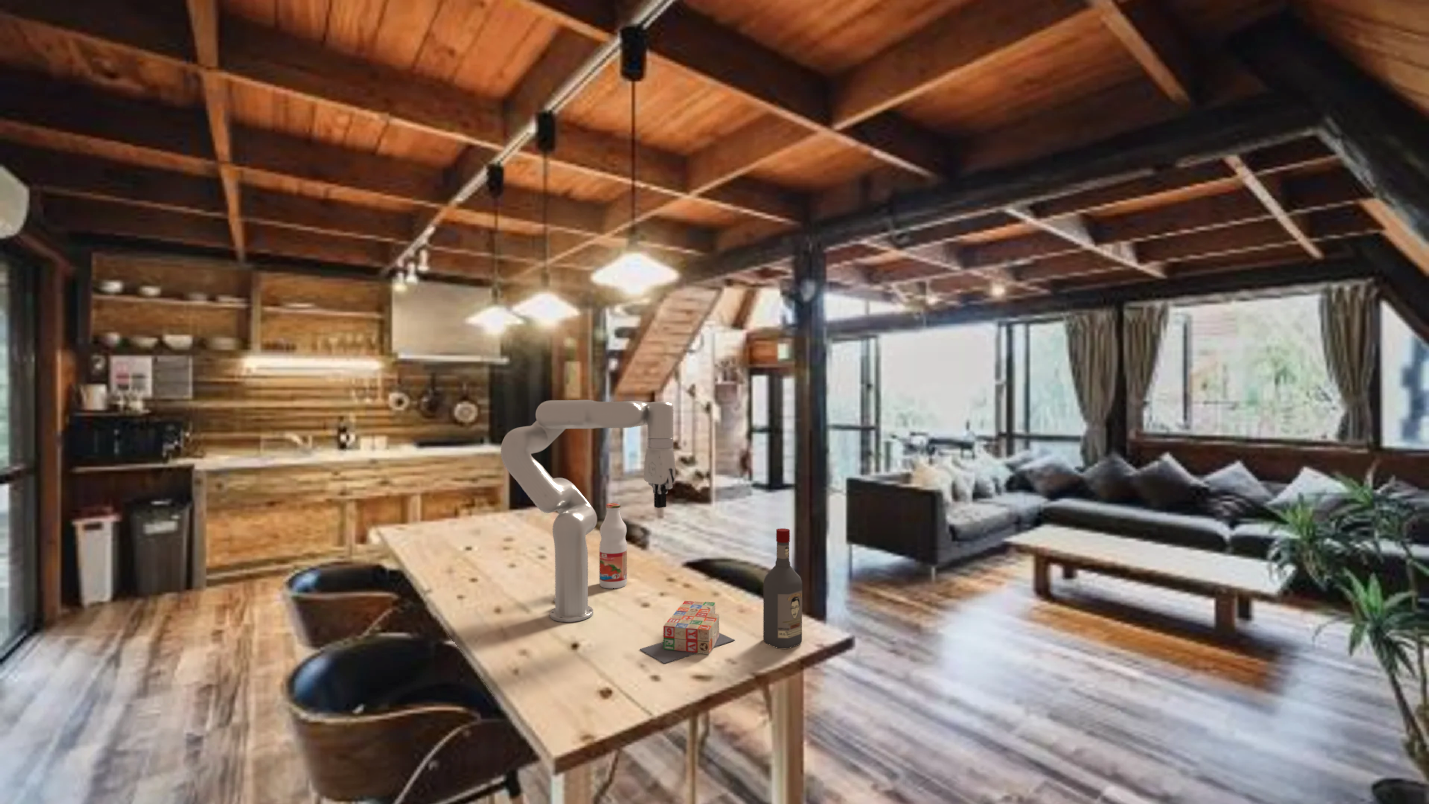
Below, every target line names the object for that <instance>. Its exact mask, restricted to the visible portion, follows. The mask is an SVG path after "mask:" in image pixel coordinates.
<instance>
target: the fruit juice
mask: <svg viewBox="0 0 1429 804" xmlns="http://www.w3.org/2000/svg"><path fill="white" fill-rule="evenodd" d="M605 508H606V513H605V517H604V520H603V522H602V523H601V525H600V527H599V534H600V537H601V539H600V541H599V549H598V550H599V551H598V552H599V561H598V563H599V564H598V565H599V574H598V575H599V586H600V587H601V588H602V589H603V588H604V589H613V588H614V589H620V588H624V587H625V586H626V585H627V582H628V543H627V540H626V535H627V525H626V523H625V522H624V521H623V519H622V516H621V511H620V509H621V503H618V502H610V503H606V504H605Z"/></svg>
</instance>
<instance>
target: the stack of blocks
mask: <svg viewBox="0 0 1429 804" xmlns="http://www.w3.org/2000/svg"><path fill="white" fill-rule="evenodd" d="M662 628H663V631H662V632H663V635H662V636H663V641H662V642H663V649H665V650H673V651H674V650H677V651H686V652H693V653H697V654H704V655H710V653H711V652H712V650H713V649H714V648H713V647H714V645H715V643H716V641H717V639H718V637H719V633H720V614H719V613H716V602H714V601H692V600H684V601H683V602H682V603H681V604H680V606H679V607H678V608H677V609H676V611H675V612H674V613H673V614H672V616H671V617H670V618H669V619H668V620H667V621H666V622H665V623H664V624H663V627H662Z"/></svg>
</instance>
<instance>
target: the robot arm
mask: <svg viewBox="0 0 1429 804" xmlns="http://www.w3.org/2000/svg"><path fill="white" fill-rule="evenodd" d="M535 419H536V420H535V422H533V423H532V425H526V426H520V427H516V428H512V429H511V430H510V431H508V432H507V433H506V434H505V436H504V438H503V440H502V442H501V446H500V457H501V461H502V464H503V465H504V467H505V468H506V470H507V472H508V473H509V474H510V475H511V476H512V478H513V479H514V480H516V482H517V483H518V485H519V486H520V487H521V489H522V490H523V491H524V493H525V494H526V495H527V496H528V498H529V499H530V500H531V501H532V502H533V504H534V505H535V506H536V508H538V510H539V511H541V512H543V513H545V514H549V513H550V514H552V513H554V512H557V513H558V515H557V516H556V518H555V520H554V521H553V525H552V536H553V537H552V538H553V543H554V545H553V546H554V569H555V570H554V577H555V578H554V582H555V583H554V588H555V589H554V591H555V593H554V598H553V601H554V605H555V606H554V608H553V609H552V610H550V612H549V617H550V619H551V620H553V621H556V622H562V623H572V622H575V623H576V622H579V621H580V622H581V621H584V620H587V619H589V618H591V617H592V616H593V615H594V608H593V607H592V606H590V605H589V559H588V558H589V556H588V554H589V552H588V545H587V544H588V543H587V540H586V539H587V538H586V537H587V536H586V535H588V534H590V533H591V532H592V531H593V530H594V529H595V527H596V526H597V523H598V516H597V513H596V510H595V509H594V508H593V506H592V505H591V504H590V503H589V500H587V498H585V496H584V495H583V494H582V492H581V491H580V490H579V489H578V488H577V487H576V485H575V484H574V483H572V481H570V480H568V479H567V478H563V477H552V476H551V475H550V473H549V472H548V471H547V470H546V469H545V468H544V466H543V465H542V464H541V463H539V461H537V460H536V459H535V458H534V457H533V456H532V454H536V453H540V452H542V451H544V450H545V449H547V448H548V447H549V446H550V445H551V444H552V443H553V442H554V441H555V440H556V439H557V438H558V437H559V436H560V435H561V434H562V433H563V432H564V431H565V430H566V429H568V430H569V429H573V430H574V429H577V430H579V429H581V430H582V429H584V430H585V429H586V430H587V429H591V430H593V429H631V428H635V427H636V428H637V427H642V426H647V438H646V439H647V441H646V443H647V448H646V451H645V455H644V464H643V467H644V468H643V479H644V481H645V482H646V483H648V485H649V486H650V487H651V488H652V493H653V494H654V495H653V500H654V502H653V506H654V508H657V509H661V508H666V507H667V494H668V491H669V490H671V489H673V486H674V485H673V484H674V483H675V481H676V461H675V460H676V459H675V453H674V405H673V403H672V402H669V401H651V402H648V401H641V400H630V401H629V400H628V401H627V400H625V401H624V400H623V401H596V400H592V399H570V400H568V399H567V400H566V399H565V400H564V399H563V400H561V399H560V400H557V399H556V400H555V399H554V400H546V401H545V400H544V401H543V402H541V403H540V404H539V405H538V406H537V408H536V410H535Z"/></svg>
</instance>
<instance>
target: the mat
mask: <svg viewBox="0 0 1429 804" xmlns="http://www.w3.org/2000/svg"><path fill="white" fill-rule="evenodd" d="M732 642H736V641H735V639H734V638H731V637H729V636H727V635H726V634H723V633H721V632H719V637H718V639H717V641H716V643H715V645H714V647H713V649H714V648H717V647H720V646H723V645H727V644H729V643H732ZM639 651H641V652H643V654H646V655H647V656H650V657H651V658H653V659H655V660H656V661H659V662H660V663H662V664H663V665H666V664H669V663H672V662H675V661H678V660H681V659H684V658H688V657H690V656H693V655H696V654H698V653H693V652H686V651H677V650H674V651H673V650H665V649H663V641H661V642H658V643H655V644H651V645H649V646H648V645H647V646H645V647H641V648H640V649H639Z"/></svg>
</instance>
